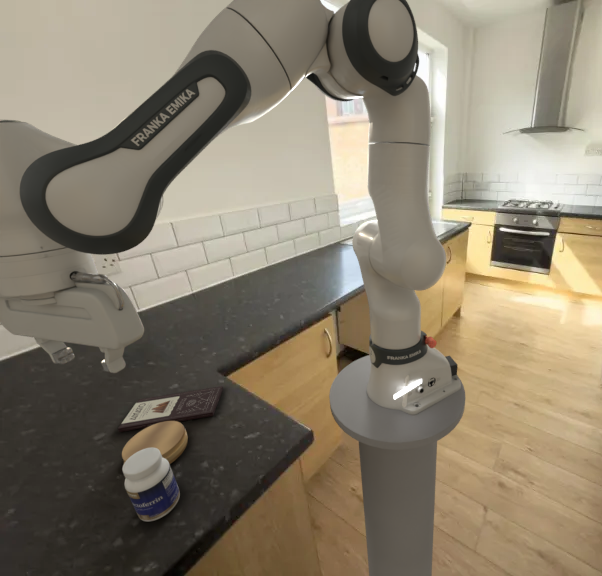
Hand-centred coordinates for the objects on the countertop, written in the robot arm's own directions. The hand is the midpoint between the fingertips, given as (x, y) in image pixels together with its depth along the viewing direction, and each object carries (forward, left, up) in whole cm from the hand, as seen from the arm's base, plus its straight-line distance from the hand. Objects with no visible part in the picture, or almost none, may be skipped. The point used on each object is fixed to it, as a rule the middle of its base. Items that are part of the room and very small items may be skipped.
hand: (89, 365), depth 44 cm
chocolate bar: (-1, -21, -26) cm, 33 cm away
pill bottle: (-3, +3, -26) cm, 26 cm away
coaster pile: (0, -9, -26) cm, 27 cm away
